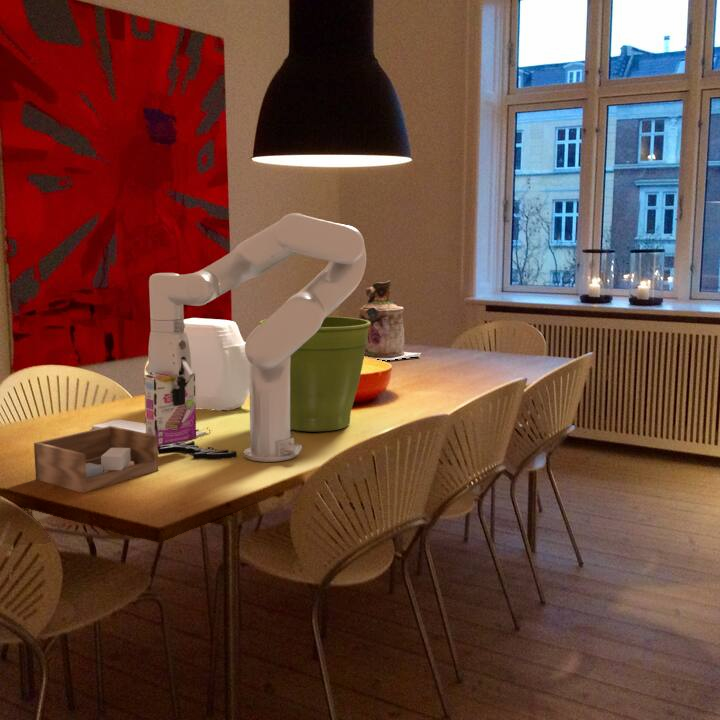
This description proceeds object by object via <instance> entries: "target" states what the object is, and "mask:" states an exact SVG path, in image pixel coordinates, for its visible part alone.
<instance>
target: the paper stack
mask: <svg viewBox="0 0 720 720" xmlns="http://www.w3.org/2000/svg"><path fill="white" fill-rule="evenodd" d="M184 324H185V328H184V333H186V334H187V337H188V342H189V348H190V356H191V371H192V372H194V373H195V405H196V408H201V409H214V410H227V411H233V410H235V409H238V408H241V407H242V406H244V405H245V403H246V402H247V398H248V396H249V395H250V362H249V361H248V359H247V357H246V354H245V343H246V341H244V339H243V337H242V335H241V333H240V328H239V326H238V325H237V323H236V322H235V321H232V320H229V319H228V320H227V319H215V318H200V317H191V318H190V317H189V318H185V319H184Z"/></svg>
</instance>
